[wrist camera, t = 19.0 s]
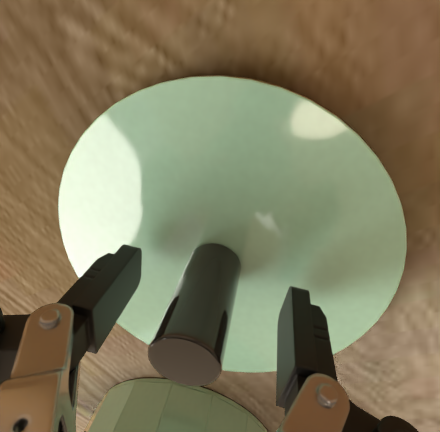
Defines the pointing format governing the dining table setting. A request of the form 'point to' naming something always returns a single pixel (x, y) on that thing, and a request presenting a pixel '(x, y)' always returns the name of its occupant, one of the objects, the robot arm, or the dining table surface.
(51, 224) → the dining table surface
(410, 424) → the robot arm
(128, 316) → the pot lid
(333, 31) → the dining table surface
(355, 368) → the dining table surface
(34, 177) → the dining table surface
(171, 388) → the pot
